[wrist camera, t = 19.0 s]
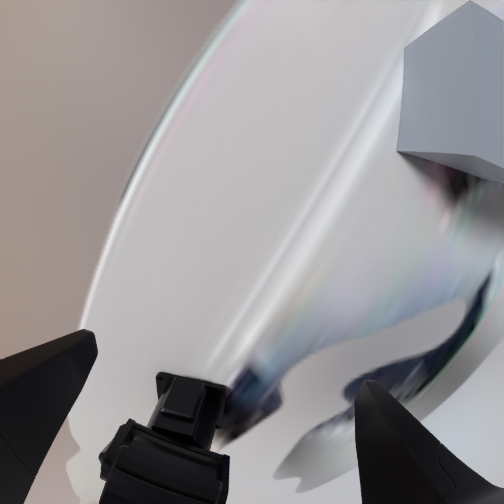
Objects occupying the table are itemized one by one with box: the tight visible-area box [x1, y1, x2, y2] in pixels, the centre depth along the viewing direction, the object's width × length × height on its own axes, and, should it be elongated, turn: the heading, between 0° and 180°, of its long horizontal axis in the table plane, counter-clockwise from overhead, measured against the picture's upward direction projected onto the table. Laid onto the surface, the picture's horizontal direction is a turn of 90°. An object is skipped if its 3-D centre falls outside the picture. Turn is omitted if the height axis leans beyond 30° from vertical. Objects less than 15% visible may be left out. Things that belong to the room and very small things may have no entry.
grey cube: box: [397, 0, 504, 184], centre depth 11 cm, size 8×8×9 cm
